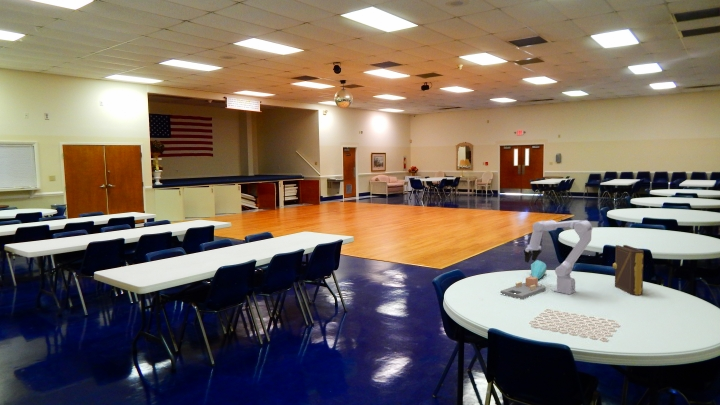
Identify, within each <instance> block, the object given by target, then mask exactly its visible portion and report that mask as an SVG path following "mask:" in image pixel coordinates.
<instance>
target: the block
mask: <svg viewBox="0 0 720 405" xmlns="http://www.w3.org/2000/svg"><path fill="white" fill-rule="evenodd" d="M525 283H526V286H527V287H530V286H531V285H536V287H537V286H539V279H538V278H536V277H532V276H527V277H525Z"/></svg>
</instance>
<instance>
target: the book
mask: <svg viewBox="0 0 720 405" xmlns="http://www.w3.org/2000/svg"><path fill="white" fill-rule="evenodd" d="M644 252H645V251H644V250H643V249H640V248H636V247H633V246H630V245H627V244H623V245H620V244H615V256H614V257H615V258H614V263H612V268H613V269H614V287H615V288H617V289H619V290H621V291H623V292H625V293H626V294H628V295H631V296H643V292H644V291H643V289H644V283H643V282H644V256H645V254H644Z"/></svg>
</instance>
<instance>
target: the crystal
mask: <svg viewBox="0 0 720 405" xmlns="http://www.w3.org/2000/svg"><path fill="white" fill-rule="evenodd" d="M546 272H547V264H546V263H545V262H544V261H541V260H539V259H536V260H535V261H534V262H533V263H531V264H530V273H531V277H536V278H538V280H539V279H541V278H542V277H543V276H544V275H545V273H546Z"/></svg>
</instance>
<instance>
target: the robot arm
mask: <svg viewBox="0 0 720 405" xmlns="http://www.w3.org/2000/svg"><path fill="white" fill-rule="evenodd" d="M558 228H570V229H571V230H574V231H575V233H576V234H577V236H578V238H579V240H578V242H576V245H574V247H573V249H572V250H571V251H570V252H569V254H568V255H567V257H566V258H565V260H564V261H563V262H562V263H560V265H559V266H557V267H556V268H555V269H554V273H555V275H556V289H554V290H553V292H556V293H562V294H566V295H571V294H573V293H576V292H577V291H576V279H575V278H574V277H572V276H571V274H572V272H573V268H574V266H575V263H576V262H577V261H578V259H579V257H580V256H581V255H582V254H583V252H584V251H585V249H586V248H587V247H588V246H589V244H590V242H591V240H592V231H593V226H592V223H591V222H590V220H589V221H588V220H582V219H581V220H580V219H579V220H578V219H577V220H565V221H556V220H553V219H548V220H541V221H540V220H539V221H536V222H534V223H532V233H531V237H530V240H529V244H527V245H526V248H525V249H523V254H524V262H525V263H530V260H531V261H534V262H535V261H536V260H538V257H539V255H540V254H541V253H542V250H541V249H542V246H541V242H542V237H543V233H544V231H545V232H546V231H547V232H548V231H556V230H557V229H558Z"/></svg>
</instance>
